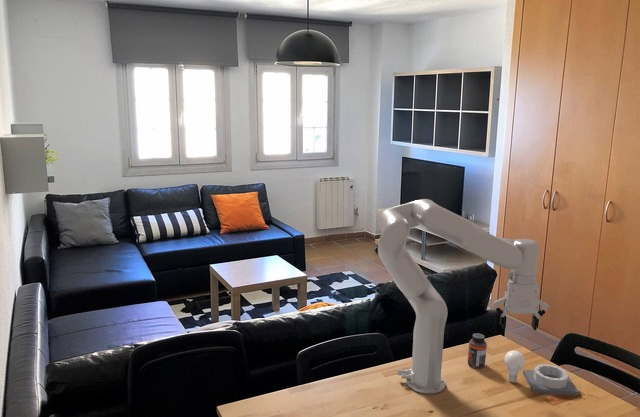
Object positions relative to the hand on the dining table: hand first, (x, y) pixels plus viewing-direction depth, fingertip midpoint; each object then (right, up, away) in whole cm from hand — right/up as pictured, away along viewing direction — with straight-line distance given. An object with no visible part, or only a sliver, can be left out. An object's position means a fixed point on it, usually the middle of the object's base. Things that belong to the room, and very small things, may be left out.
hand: (518, 327), depth 170 cm
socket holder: (+11, -19, +3) cm, 23 cm away
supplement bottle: (-9, -17, +15) cm, 24 cm away
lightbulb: (0, -19, +4) cm, 20 cm away
